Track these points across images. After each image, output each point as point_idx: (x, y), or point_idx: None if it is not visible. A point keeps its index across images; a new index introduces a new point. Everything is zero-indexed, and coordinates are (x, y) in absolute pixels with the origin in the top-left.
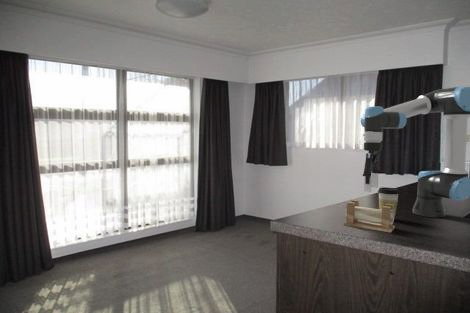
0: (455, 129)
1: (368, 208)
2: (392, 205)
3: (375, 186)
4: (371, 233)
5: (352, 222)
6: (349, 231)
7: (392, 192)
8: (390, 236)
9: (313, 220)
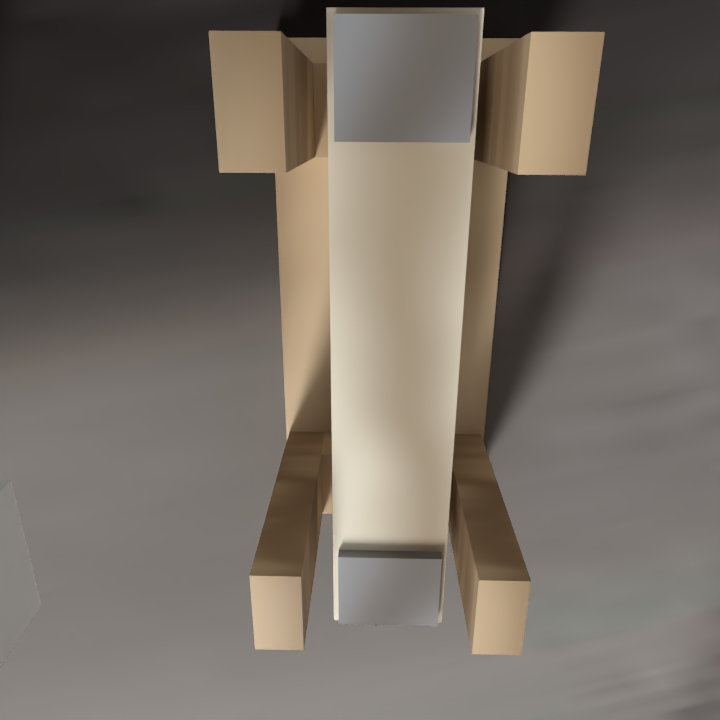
0: None
1: (365, 389)
2: (281, 36)
3: (4, 541)
4: (657, 220)
5: (483, 447)
6: (679, 406)
7: None
8: (690, 15)
9: (455, 707)
